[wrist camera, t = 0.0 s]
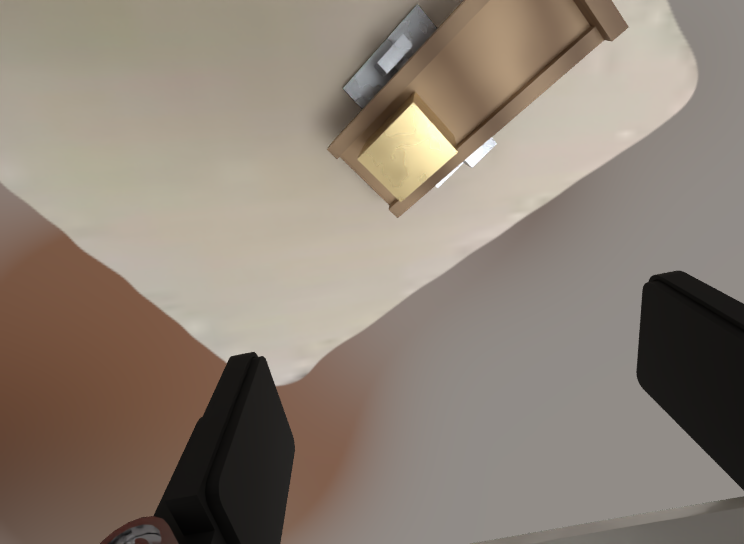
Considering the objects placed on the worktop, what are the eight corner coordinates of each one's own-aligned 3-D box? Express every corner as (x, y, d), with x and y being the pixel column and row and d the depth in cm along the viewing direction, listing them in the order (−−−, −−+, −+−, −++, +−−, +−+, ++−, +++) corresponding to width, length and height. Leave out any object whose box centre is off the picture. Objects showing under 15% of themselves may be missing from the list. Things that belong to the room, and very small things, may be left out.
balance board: (398, 207, 42) (396, 225, 38) (332, 141, 39) (323, 154, 36) (607, 25, 32) (628, 27, 29) (537, -80, 29) (552, -92, 26)
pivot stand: (410, 210, 47) (420, 228, 41) (317, 117, 43) (311, 121, 37) (559, 65, 42) (596, 60, 36) (470, -57, 38) (494, -87, 31)
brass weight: (403, 181, 39) (400, 202, 35) (364, 142, 37) (357, 159, 33) (454, 135, 36) (458, 152, 32) (414, 91, 35) (413, 102, 30)
